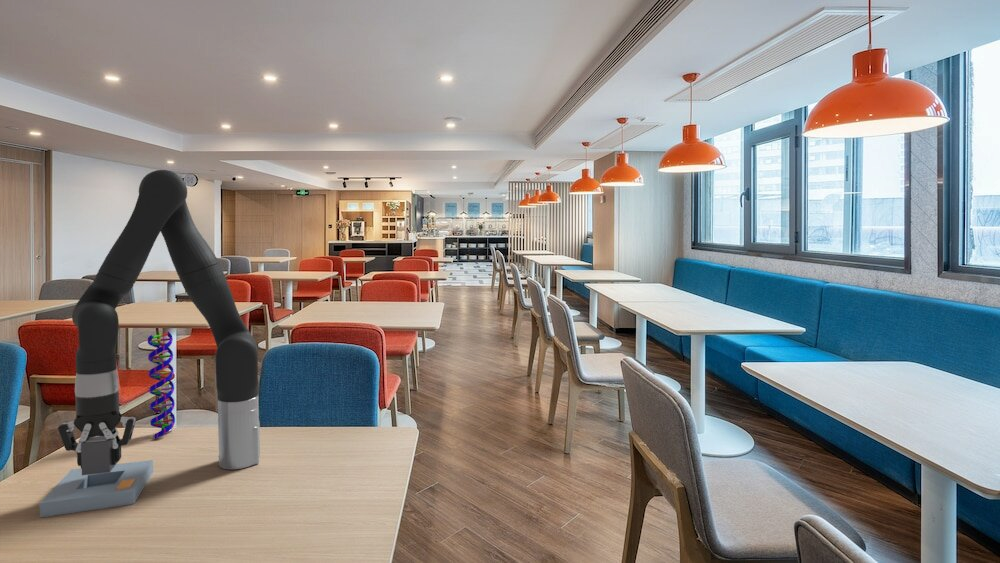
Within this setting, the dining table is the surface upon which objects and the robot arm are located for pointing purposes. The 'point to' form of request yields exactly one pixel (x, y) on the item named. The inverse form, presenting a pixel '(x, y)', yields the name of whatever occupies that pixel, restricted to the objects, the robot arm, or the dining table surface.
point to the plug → (96, 456)
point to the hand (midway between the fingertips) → (99, 464)
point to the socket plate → (97, 489)
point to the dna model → (161, 383)
